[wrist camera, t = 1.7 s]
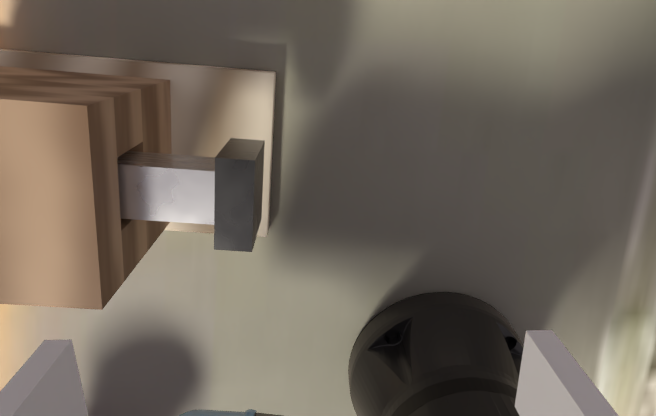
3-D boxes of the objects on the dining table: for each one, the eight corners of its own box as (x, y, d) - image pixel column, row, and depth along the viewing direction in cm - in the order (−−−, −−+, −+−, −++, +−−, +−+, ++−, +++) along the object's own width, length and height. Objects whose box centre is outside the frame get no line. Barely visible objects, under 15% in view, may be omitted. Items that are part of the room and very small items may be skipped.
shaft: (264, 140, 30) (255, 160, 25) (261, 218, 31) (251, 251, 26) (-4, 120, 29) (-66, 136, 24) (7, 201, 30) (-49, 232, 26)
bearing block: (276, 71, 35) (251, 95, 21) (268, 229, 39) (243, 335, 25) (-17, 47, 34) (-240, 55, 20) (6, 211, 38) (-168, 311, 24)
